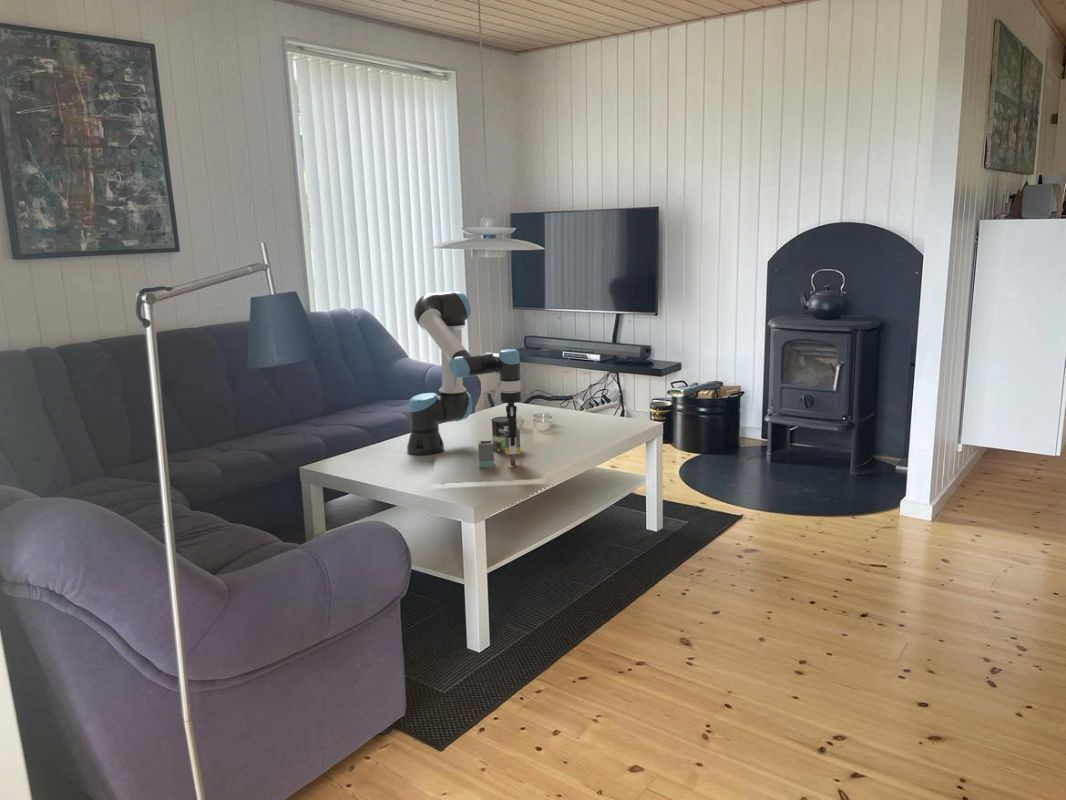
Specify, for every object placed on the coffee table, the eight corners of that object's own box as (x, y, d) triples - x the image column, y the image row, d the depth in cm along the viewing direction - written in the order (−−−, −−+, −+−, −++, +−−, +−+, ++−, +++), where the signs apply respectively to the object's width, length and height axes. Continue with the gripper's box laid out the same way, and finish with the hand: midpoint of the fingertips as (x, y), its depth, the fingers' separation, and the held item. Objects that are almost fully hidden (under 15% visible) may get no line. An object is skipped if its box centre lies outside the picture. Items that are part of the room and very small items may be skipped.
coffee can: (520, 454, 329) (519, 420, 326) (495, 457, 326) (494, 422, 323) (514, 448, 338) (513, 415, 336) (490, 450, 336) (488, 417, 333)
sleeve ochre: (505, 450, 310) (504, 427, 309) (519, 450, 311) (519, 427, 309) (505, 454, 305) (504, 431, 303) (520, 453, 305) (519, 430, 304)
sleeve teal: (479, 467, 306) (478, 444, 304) (479, 463, 311) (478, 440, 309) (494, 467, 306) (493, 443, 304) (493, 463, 311) (493, 440, 310)
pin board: (476, 473, 304) (475, 451, 302) (476, 466, 313) (475, 444, 312) (524, 471, 305) (523, 449, 303) (523, 464, 314) (522, 442, 313)
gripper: (500, 387, 312) (502, 446, 317) (501, 396, 294) (503, 458, 299) (519, 386, 313) (521, 445, 317) (521, 395, 295) (523, 457, 299)
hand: (512, 451), depth 308 cm, fingers closed on sleeve ochre, 6 cm apart
